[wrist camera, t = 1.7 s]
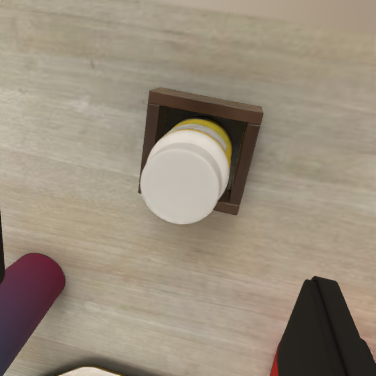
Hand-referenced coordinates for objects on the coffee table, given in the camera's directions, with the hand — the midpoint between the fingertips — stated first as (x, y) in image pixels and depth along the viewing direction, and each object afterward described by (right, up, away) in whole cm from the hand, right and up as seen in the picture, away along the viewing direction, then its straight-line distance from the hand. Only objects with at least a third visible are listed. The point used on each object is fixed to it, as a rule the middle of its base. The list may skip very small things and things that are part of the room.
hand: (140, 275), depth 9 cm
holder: (+2, +6, +14) cm, 15 cm away
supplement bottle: (+2, +6, +14) cm, 15 cm away
